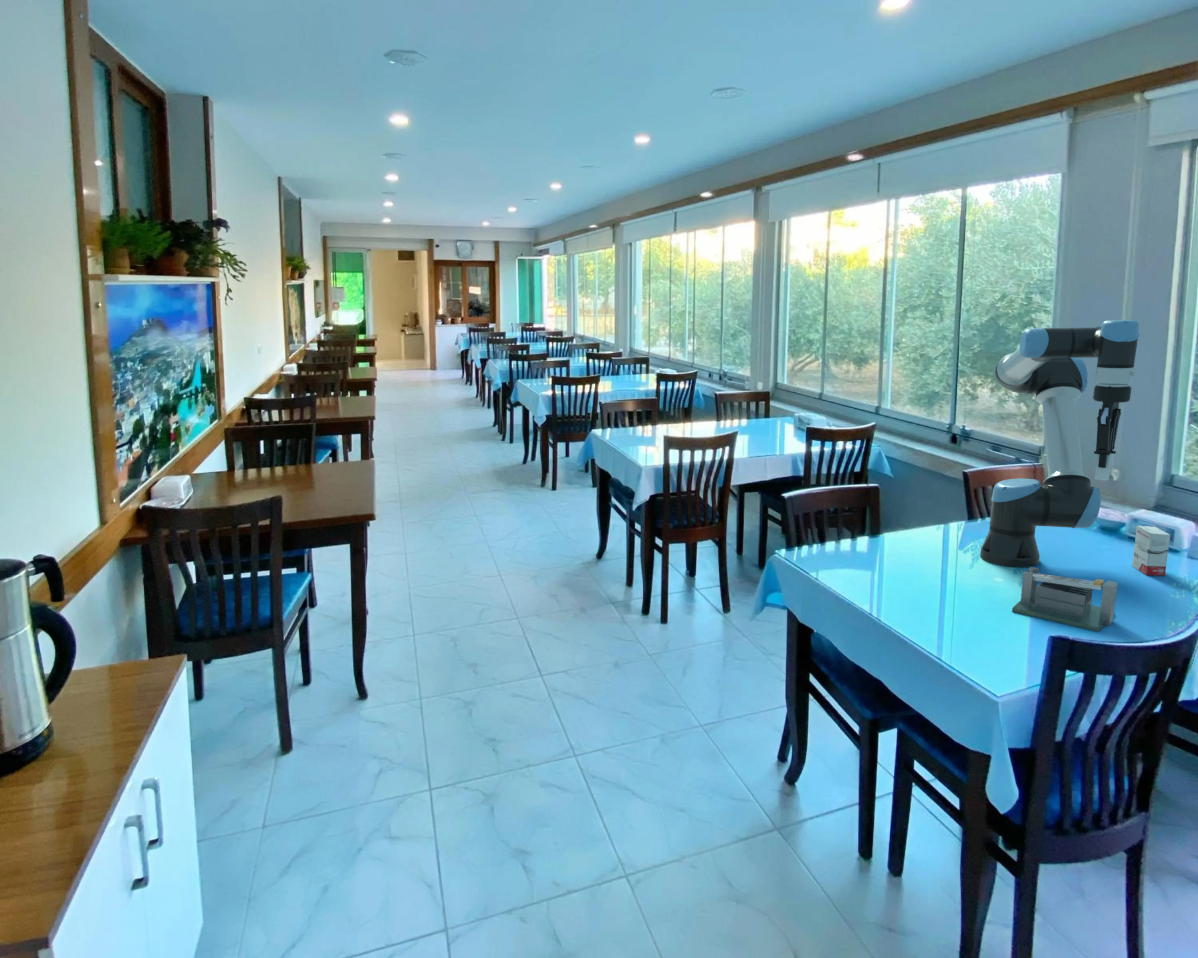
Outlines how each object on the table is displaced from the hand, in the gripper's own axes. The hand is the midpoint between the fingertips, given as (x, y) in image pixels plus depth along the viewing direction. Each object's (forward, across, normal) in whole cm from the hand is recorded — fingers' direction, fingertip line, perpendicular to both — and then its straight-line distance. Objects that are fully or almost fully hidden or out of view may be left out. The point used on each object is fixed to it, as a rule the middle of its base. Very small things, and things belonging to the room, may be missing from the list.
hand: (1101, 479), depth 191 cm
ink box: (+30, +28, -8) cm, 41 cm away
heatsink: (+29, -20, +1) cm, 36 cm away
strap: (+22, -20, +1) cm, 30 cm away
